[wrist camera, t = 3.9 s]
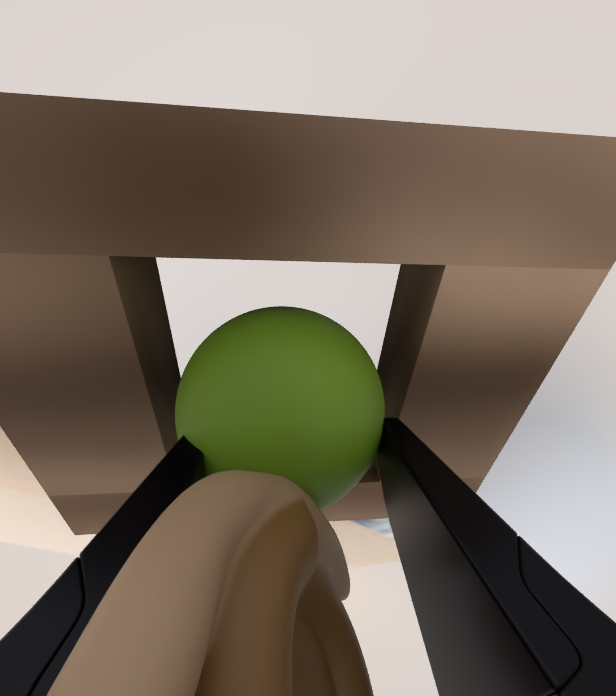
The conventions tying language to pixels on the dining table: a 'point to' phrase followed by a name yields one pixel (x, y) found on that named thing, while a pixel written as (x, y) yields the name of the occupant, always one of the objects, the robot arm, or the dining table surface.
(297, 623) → the snail figurine
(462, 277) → the block
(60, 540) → the dining table surface
